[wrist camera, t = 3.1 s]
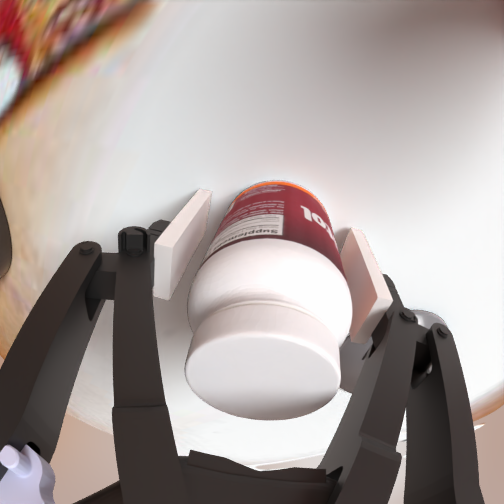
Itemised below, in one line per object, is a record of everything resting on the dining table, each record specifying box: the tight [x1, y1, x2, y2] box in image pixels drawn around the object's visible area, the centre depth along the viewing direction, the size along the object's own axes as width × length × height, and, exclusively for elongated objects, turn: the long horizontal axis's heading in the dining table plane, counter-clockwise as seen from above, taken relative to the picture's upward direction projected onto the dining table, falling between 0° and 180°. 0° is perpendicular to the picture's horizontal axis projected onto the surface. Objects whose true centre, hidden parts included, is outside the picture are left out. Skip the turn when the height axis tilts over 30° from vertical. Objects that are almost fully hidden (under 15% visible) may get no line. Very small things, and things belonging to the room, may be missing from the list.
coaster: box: [339, 310, 448, 393], centre depth 22 cm, size 11×11×1 cm
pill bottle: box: [185, 180, 352, 420], centre depth 13 cm, size 6×6×11 cm
